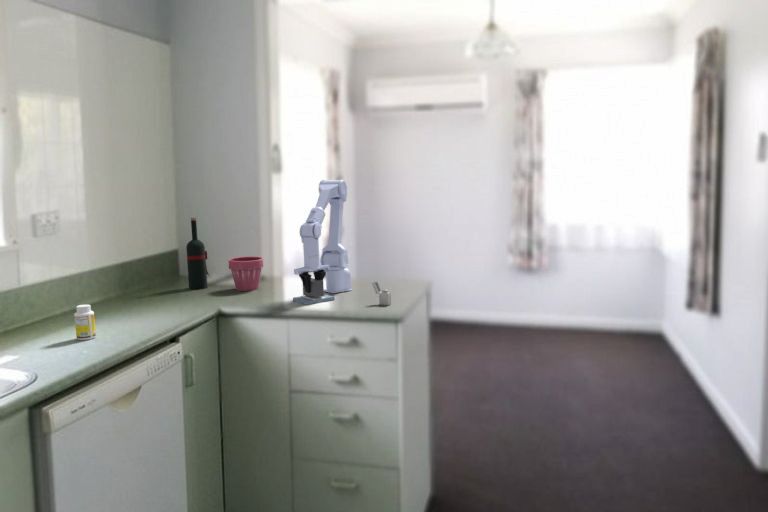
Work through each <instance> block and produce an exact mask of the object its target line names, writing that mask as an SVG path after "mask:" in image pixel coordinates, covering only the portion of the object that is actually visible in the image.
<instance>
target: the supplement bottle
mask: <svg viewBox="0 0 768 512" xmlns="http://www.w3.org/2000/svg"><path fill="white" fill-rule="evenodd" d="M91 307H92V306H91V304H79V305H77V306H76V312H74V325H75V335H76V336H75V337H76V339H77V341H78V340H79V341H89V340H93V339H95V338H96V337H97V331H96V329H97V328H96V321H95V312H94V311H93V310H92V308H91Z"/></svg>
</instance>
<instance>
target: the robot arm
mask: <svg viewBox="0 0 768 512" xmlns="http://www.w3.org/2000/svg"><path fill="white" fill-rule="evenodd" d="M318 194H319V195H318V198H317V201H316V204H315V207H312V208H311V209H310V211H309V214H308V216H307V218H306V221H305V222H304V223H303V224H301V225H300V227H299V237H301V238H300V239H301V243H302V244H303V245H302V247H303V267H298V268H294V269H293V275H296V276H297V275H298V277H299V278H300V280H301V282H302V285H303V284H304V287H305V290H306V292H308V293H310V281H311V278H312V274H310V273H313V277H314V279H319V280H323V281H324V278H325V286H326V288H324V292H326V293H329V294H336V293H343V292H344V293H345V292H349V291H353V289H352V282H351V281H352V277H351V271H350V270H349V268H347V266H348V264H349V258H348V249H347V248H345V246H343V244H342V236H343V235H342V231H343V229H342V228H343V218H344V217H343V216H344V203H345V202H346V201H347V197H348V196H347V195H348V185H347V183H346V181H345V180H344V179H330V180H329V179H328V180H327V179H325V180H324V179H322V180H320V182H319V184H318ZM328 204H330V210H329V227H328V241H327V242H328V244H326V245H325V246H324V247H323V248H322V249H321V255H320V240H319V239H320V238H321V235H322V228H323V226H322V224H323V222H324V219H325V217H326V212H325V210H326V208H328Z"/></svg>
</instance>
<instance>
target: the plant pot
mask: <svg viewBox="0 0 768 512" xmlns="http://www.w3.org/2000/svg"><path fill="white" fill-rule="evenodd" d="M263 258H264V257H261V256H238V257H237V256H235V257H232V258H229V259H228V269H229V270H231V275H232V279H233V282H234V286H235V289H236V291H239V292H247V291H248V292H249V291H255V290H258V289H259V287H260V286H259V285H260V280H261V276H262V275H261V273H262V268H264V259H263Z"/></svg>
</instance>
